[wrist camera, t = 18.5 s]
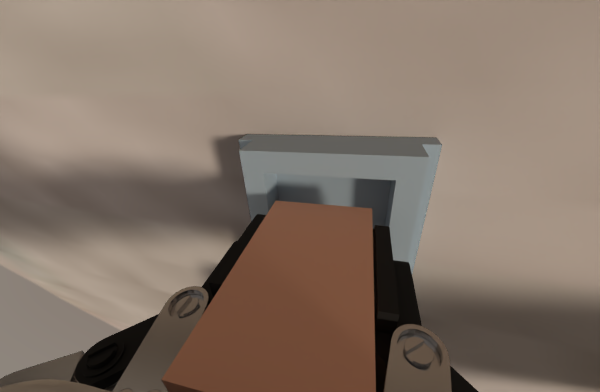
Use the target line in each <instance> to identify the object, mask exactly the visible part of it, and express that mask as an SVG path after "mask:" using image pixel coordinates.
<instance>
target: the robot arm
mask: <svg viewBox="0 0 600 392" xmlns="http://www.w3.org/2000/svg"><path fill="white" fill-rule="evenodd" d="M265 216H266V215H263V214H257V215H256V216H255V217H254V219H253V220H252V222H251V223H250V224H249V226H248V227H247V229H246V230H245V232H244V233H243V234H242V236H241V237H240V239H239V240H238V241H236V242H234V243H233V244H232V246H231V247H230V249H229V250H228V251H227V253H226V254H225V256H224V257H223V258H222V260H221V261H220V262H219V264H218V265H217V267H216V268H215V269H214V271H213V272H212V274H211V275H210V276H209V278H208V279H207V281H206V282H205V283H204V285H203V286H202V287H198V286H192V287H187V288H184V289H181V290H180V291H178V292H176V293H175V294H174V295H172V296H171V297H170V298H169V299H168V301H167V302H166V303H165V305H164V307H163V308H162V310H161V312H160V313H159V314H158V315H156V316H154V317H151V318H149V319H147V320H145V321H143V322H140V323H138V324H136V325H134V326H131V327H129V328H127V329H125V330H122V331H120V332H118V333H116V334H114V335H111V336H109V337H107V338H105V339H103V340H101V341H99V342H98V343H96V344H95V345H94V346H92V347H91V348H90V349H89V350H88V351H87V352H86V353H84V352H83V351H79V352H77V353H74V354H70V355H67V356H64V357H60V358H57V359H55V360H51V361H48V362H45V363H41V364H38V365H35V366H32V367H29V368H26V369H22V370H19V371H16V372H13V373H11V374H9V375H6V376H4V377H3V378H1V379H0V392H168V390H167V389H166V387H165V385H164V383H163V382H162V380H161V379H162V378H163V376H164V375H165V373H166V371H167V370H168V368H169V367H170V365H171V364H172V362H173V360H174V359H175V357H176V356H177V354H178V353H179V351H180V350H181V348H182V346H183V345H184V343H185V342H186V340H187V339H188V337H189V335H190V334H191V332H192V331H193V329H194V328H195V326H196V324H197V323H198V321H199V320H200V318H201V317H202V315H203V313H204V312H205V310H206V309H207V307H208V306H209V304H210V303H211V301H212V299H213V298H214V296H215V295H216V293H217V292H218V290H219V288H220V287H221V285H222V284H223V282H224V281H225V279H226V277H227V276H228V274H229V273H230V271H231V270H232V268H233V267H234V265H235V263H236V262H237V260H238V259H239V257H240V256H241V254H242V252H243V251H244V249H245V248H246V246H247V245H248V243H249V241H250V240H251V238H252V237H253V235H254V234H255V232H256V231H257V229H258V227H259V226H260V224H261V223H262V221H263V220H264V218H265ZM373 271H374V320H375V370H376V392H478V391H477V390H476V389H475V388H474V387H473V386H472V385H471V384H469V383H468V382H467V381H466V380H465V379H464V378H463V377H462V376H461V375H460V374H459V373H458V372H456V371H455V370H454V369H453V368H452V367H451V366H450V359H449V354H448V350H447V349H446V347H445V345H444V343H443V342H442V341H441V340H440V338H439V337H438V336H437V335H436V334H434V333H433V332H432V331H430V330H429V329H427V328H425V327H422V325H421V320H420V315H419V310H418V304H417V299H416V294H415V289H414V284H413V279H412V273H411V268H410V264H409V262H404V261H396V260H393V254H392V245H391V236H390V228H389V226H379V225H375V227H374V229H373Z"/></svg>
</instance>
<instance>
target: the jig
mask: <svg viewBox="0 0 600 392" xmlns="http://www.w3.org/2000/svg"><path fill="white" fill-rule="evenodd" d="M239 145H240V150H239V153H240V159H241V165H242V171H243V176H244V182H245V188H246V194H247V199H248V205H249V211H250V217H251V222H252V220H253V219H254V217H255V216H256V215H257V214H263V215H267V213H268V212H269V210H270V209H271V207H272V205H273V204H274V202H275V201H287V202H299V203H312V204H324V205H337V206H349V207H361V208H372V221H373V229H374V227H375V225H379V226H389V228H390V236H391V245H392V254H393V260H396V261H404V262H409V264H410V268H411V273H412V272H413V268H414V264H415V259H416V255H417V251H418V247H419V242H420V238H421V234H422V229H423V225H424V221H425V216H426V212H427V208H428V203H429V199H430V195H431V191H432V186H433V182H434V178H435V173H436V169H437V165H438V160H439V156H440V152H441V148H442V144H441V143H440V141H439V140H438V139H437V138H425V137H370V136H315V135H261V134H247V135H245V136H244V137H242V138H241V139H239Z"/></svg>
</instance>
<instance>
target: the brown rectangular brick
mask: <svg viewBox="0 0 600 392" xmlns="http://www.w3.org/2000/svg"><path fill="white" fill-rule="evenodd" d="M161 380H162V382H163V383H164V385H165V387H166V389H167V390H168V392H376V370H375V320H374V271H373V221H372V208H361V207H349V206H337V205H324V204H312V203H299V202H287V201H275V202H274V204H273V205H272V207H271V209H270V210H269V212H268V213H267V215H266V216H265V218H264V220H263V221H262V223H261V224H260V226H259V227H258V229H257V231H256V232H255V234H254V235H253V237H252V238H251V240H250V241H249V243H248V245H247V246H246V248H245V249H244V251H243V252H242V254H241V256H240V257H239V259H238V260H237V262H236V263H235V265H234V267H233V268H232V270H231V271H230V273H229V274H228V276H227V277H226V279H225V281H224V282H223V284H222V285H221V287H220V288H219V290H218V292H217V293H216V295H215V296H214V298H213V299H212V301H211V303H210V304H209V306H208V307H207V309H206V310H205V312H204V313H203V315H202V317H201V318H200V320H199V321H198V323H197V324H196V326H195V328H194V329H193V331H192V332H191V334H190V335H189V337H188V339H187V340H186V342H185V343H184V345H183V346H182V348H181V350H180V351H179V353H178V354H177V356H176V357H175V359H174V360H173V362H172V364H171V365H170V367H169V368H168V370H167V371H166V373H165V375H164V376H163V378H162V379H161Z"/></svg>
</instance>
